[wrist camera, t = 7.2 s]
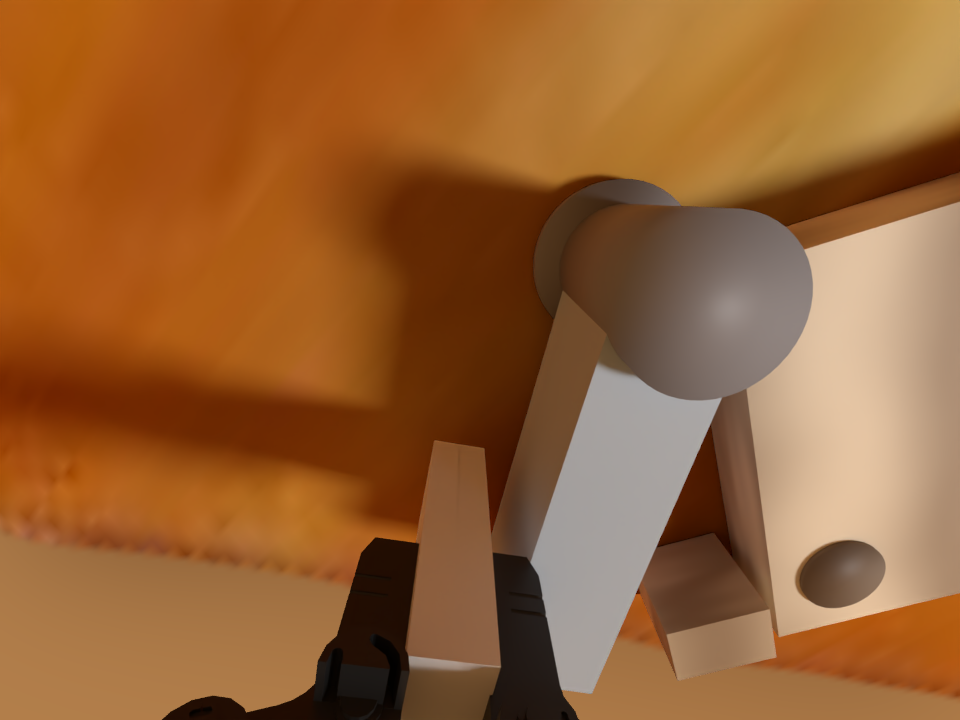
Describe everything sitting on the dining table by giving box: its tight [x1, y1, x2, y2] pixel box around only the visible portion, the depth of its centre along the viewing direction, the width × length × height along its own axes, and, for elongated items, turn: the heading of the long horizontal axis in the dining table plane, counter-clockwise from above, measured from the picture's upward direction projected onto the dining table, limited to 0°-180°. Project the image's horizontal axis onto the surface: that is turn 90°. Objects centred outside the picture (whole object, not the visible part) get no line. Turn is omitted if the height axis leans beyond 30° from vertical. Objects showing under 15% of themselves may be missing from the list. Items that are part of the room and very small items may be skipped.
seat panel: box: [533, 172, 960, 681], centre depth 13 cm, size 16×15×3 cm
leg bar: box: [491, 204, 813, 694], centre depth 11 cm, size 12×3×5 cm, turn 167°
